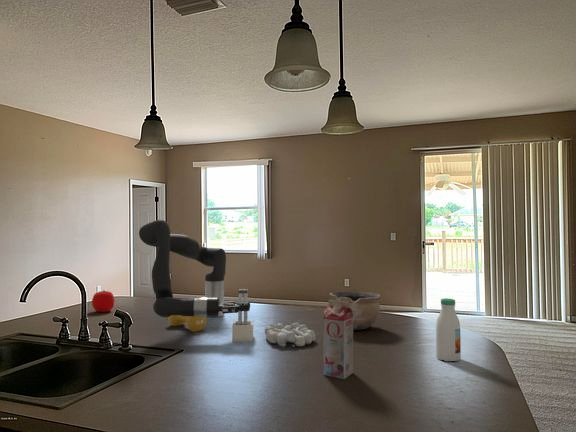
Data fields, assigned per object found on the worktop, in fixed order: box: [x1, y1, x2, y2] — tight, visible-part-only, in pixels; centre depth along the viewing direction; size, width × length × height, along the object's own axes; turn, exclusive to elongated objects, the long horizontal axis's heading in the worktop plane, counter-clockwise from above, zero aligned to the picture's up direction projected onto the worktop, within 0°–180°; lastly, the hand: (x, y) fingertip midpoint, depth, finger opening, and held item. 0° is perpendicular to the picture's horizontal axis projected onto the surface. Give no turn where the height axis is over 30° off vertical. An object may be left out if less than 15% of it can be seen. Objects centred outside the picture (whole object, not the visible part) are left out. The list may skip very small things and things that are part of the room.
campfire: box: [264, 322, 316, 347], centre depth 167 cm, size 22×21×6 cm
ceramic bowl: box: [329, 290, 381, 331], centre depth 187 cm, size 22×22×15 cm
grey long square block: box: [237, 288, 249, 325], centre depth 170 cm, size 4×4×18 cm
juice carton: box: [323, 299, 354, 380], centre depth 130 cm, size 7×7×22 cm
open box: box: [231, 320, 254, 342], centre depth 170 cm, size 8×8×6 cm
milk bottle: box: [435, 297, 462, 362], centre depth 145 cm, size 8×8×20 cm
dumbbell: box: [166, 315, 207, 333], centre depth 187 cm, size 19×9×8 cm, turn 47°
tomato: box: [91, 290, 115, 313], centre depth 222 cm, size 10×11×11 cm
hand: (249, 306), depth 170 cm, fingers open, 5 cm apart
